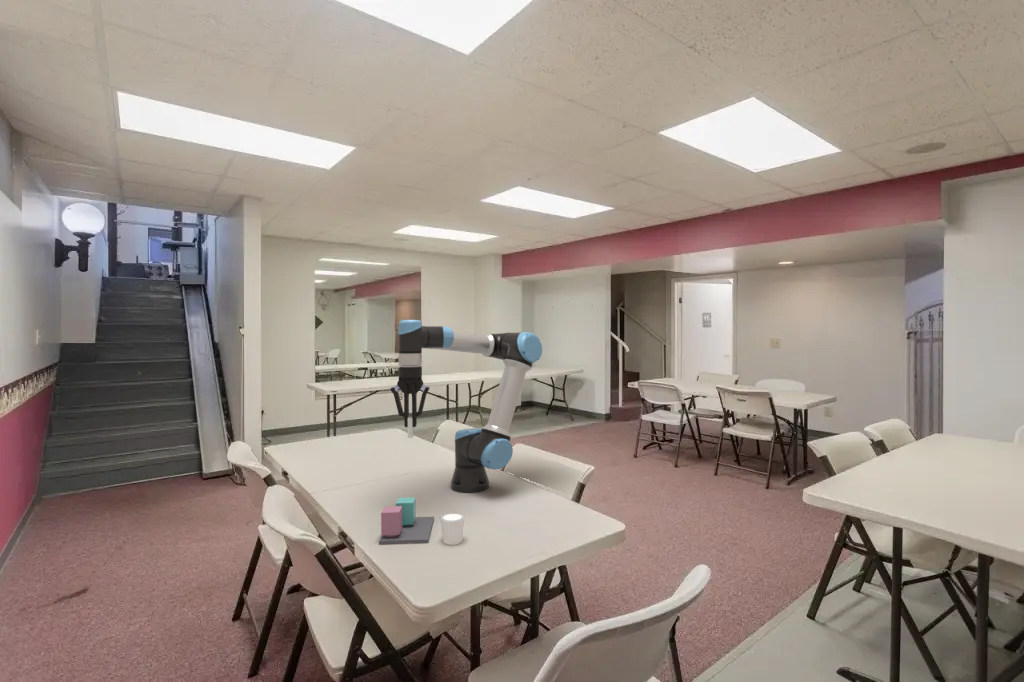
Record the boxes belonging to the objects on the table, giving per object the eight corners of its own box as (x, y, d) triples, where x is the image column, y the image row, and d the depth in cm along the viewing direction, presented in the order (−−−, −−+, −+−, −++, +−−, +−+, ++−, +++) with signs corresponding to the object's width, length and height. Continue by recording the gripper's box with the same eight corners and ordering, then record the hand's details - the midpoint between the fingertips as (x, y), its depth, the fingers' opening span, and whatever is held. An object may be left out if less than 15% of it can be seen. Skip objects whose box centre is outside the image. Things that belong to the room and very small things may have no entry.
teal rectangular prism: (415, 518, 152) (415, 497, 152) (413, 524, 147) (413, 502, 147) (399, 518, 152) (398, 497, 152) (396, 524, 147) (396, 503, 147)
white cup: (453, 534, 144) (452, 510, 144) (469, 540, 140) (469, 516, 140) (435, 541, 139) (435, 517, 139) (452, 548, 135) (452, 523, 135)
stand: (434, 519, 156) (433, 493, 156) (428, 542, 138) (427, 513, 138) (390, 520, 155) (390, 494, 155) (378, 544, 137) (378, 514, 137)
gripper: (431, 365, 164) (431, 434, 164) (392, 365, 163) (392, 435, 163) (428, 366, 156) (429, 438, 156) (388, 367, 155) (388, 439, 155)
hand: (410, 436), depth 160 cm, fingers closed
